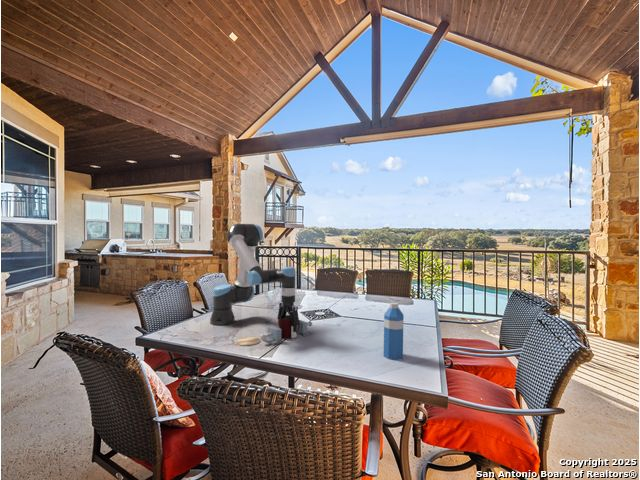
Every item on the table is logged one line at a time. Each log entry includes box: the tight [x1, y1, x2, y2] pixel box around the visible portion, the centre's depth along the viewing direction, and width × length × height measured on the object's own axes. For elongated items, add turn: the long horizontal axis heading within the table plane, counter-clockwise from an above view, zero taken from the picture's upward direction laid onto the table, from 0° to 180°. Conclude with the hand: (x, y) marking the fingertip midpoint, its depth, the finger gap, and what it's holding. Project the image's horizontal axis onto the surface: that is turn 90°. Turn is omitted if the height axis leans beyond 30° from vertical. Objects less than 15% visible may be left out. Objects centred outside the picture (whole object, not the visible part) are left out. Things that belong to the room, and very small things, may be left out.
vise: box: [259, 319, 313, 346], centre depth 166 cm, size 10×34×7 cm, turn 134°
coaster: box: [236, 336, 261, 347], centre depth 158 cm, size 12×12×1 cm
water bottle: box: [383, 302, 405, 361], centre depth 141 cm, size 9×9×25 cm
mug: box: [277, 314, 300, 340], centre depth 166 cm, size 12×9×11 cm
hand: (287, 335), depth 166 cm, fingers closed on mug, 9 cm apart
